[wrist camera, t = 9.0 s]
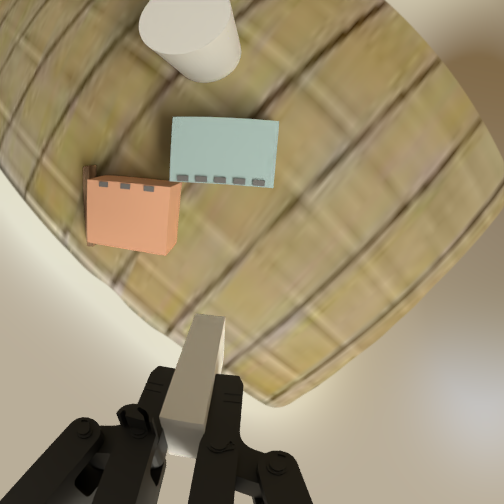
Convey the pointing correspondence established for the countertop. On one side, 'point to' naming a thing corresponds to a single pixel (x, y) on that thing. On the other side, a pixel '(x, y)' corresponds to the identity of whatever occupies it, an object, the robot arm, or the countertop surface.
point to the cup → (193, 36)
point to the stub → (133, 213)
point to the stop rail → (88, 173)
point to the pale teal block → (224, 151)
